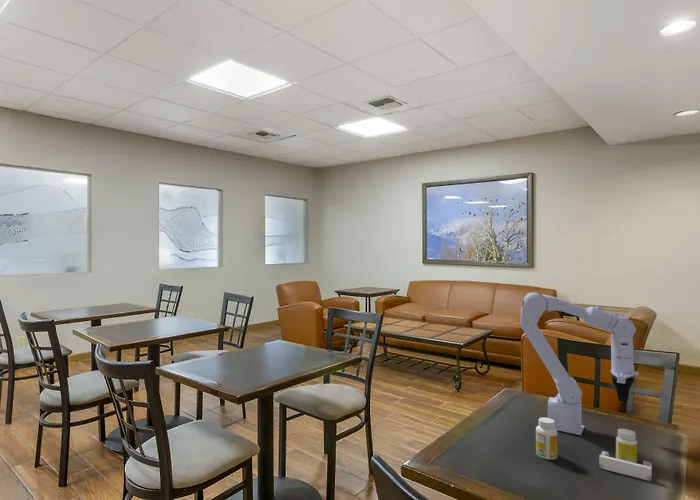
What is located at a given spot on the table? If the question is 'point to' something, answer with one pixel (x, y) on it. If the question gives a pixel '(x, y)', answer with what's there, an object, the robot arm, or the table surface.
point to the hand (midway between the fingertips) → (623, 401)
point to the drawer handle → (625, 467)
